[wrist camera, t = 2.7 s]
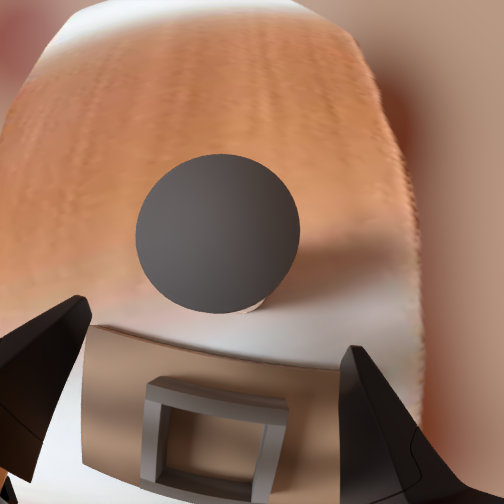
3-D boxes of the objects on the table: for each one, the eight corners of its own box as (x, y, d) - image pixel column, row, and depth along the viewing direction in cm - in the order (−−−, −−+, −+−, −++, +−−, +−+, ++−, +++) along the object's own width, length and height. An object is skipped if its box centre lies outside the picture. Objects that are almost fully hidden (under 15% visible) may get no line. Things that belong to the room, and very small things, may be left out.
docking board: (334, 505, 15) (345, 530, 11) (89, 458, 16) (66, 474, 12) (371, 371, 17) (394, 381, 14) (96, 325, 18) (67, 324, 15)
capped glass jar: (282, 303, 19) (326, 276, 7) (219, 325, 18) (160, 335, 7) (258, 242, 20) (263, 136, 8) (197, 264, 19) (123, 186, 8)
